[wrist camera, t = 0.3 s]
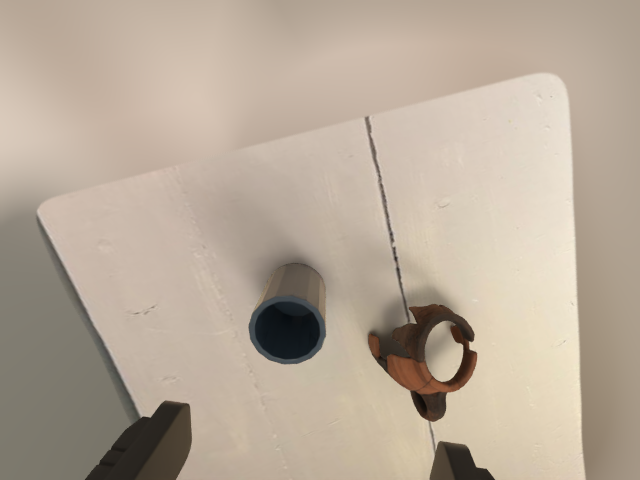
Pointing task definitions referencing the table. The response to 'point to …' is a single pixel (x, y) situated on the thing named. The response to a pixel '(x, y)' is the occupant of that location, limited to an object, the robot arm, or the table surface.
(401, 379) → the brown broken clay pot
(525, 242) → the table surface
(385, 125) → the table surface
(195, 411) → the table surface
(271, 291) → the cup
